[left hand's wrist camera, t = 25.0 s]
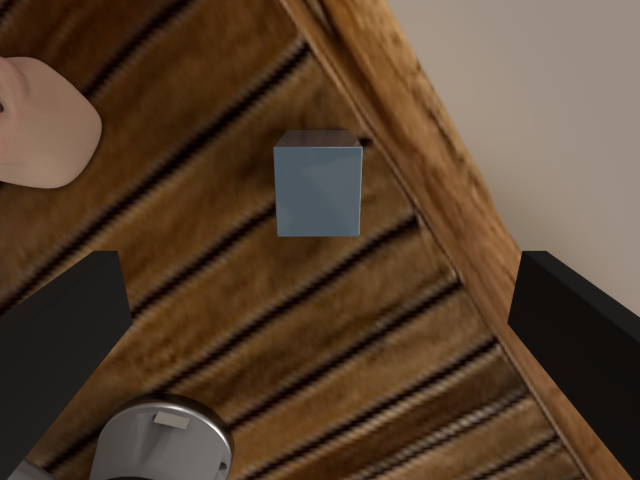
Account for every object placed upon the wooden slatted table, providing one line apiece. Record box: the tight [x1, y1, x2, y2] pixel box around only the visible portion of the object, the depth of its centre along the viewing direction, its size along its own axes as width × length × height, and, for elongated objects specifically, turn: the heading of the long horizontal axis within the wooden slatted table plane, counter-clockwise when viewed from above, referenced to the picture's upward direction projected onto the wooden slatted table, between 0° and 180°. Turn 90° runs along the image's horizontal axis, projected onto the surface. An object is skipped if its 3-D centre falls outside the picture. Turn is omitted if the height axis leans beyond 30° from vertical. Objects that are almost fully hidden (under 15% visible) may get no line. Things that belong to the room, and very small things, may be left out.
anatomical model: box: [0, 57, 102, 188], centre depth 31 cm, size 13×4×12 cm
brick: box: [273, 130, 363, 236], centre depth 29 cm, size 6×5×11 cm
